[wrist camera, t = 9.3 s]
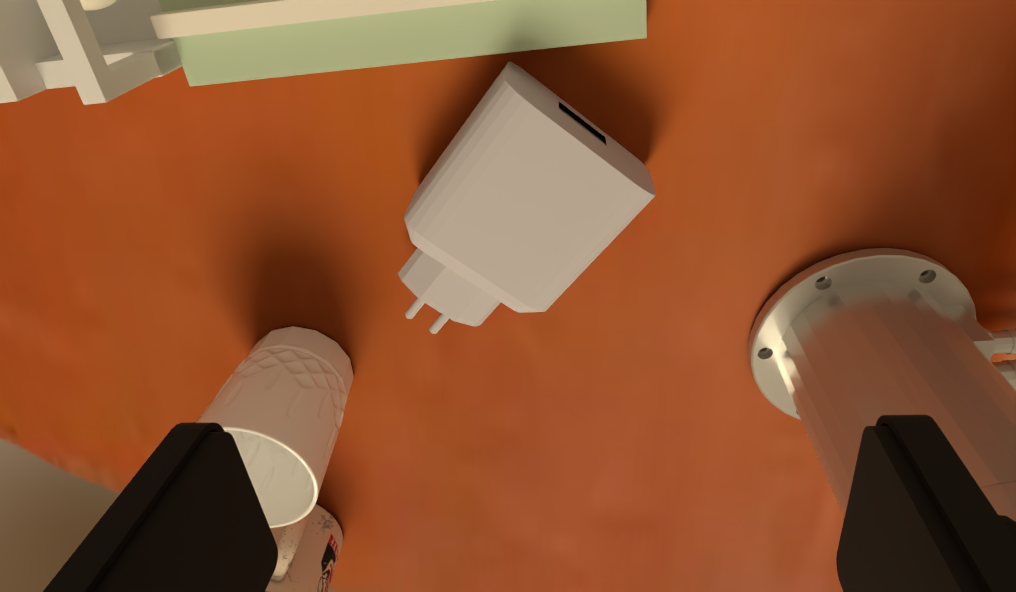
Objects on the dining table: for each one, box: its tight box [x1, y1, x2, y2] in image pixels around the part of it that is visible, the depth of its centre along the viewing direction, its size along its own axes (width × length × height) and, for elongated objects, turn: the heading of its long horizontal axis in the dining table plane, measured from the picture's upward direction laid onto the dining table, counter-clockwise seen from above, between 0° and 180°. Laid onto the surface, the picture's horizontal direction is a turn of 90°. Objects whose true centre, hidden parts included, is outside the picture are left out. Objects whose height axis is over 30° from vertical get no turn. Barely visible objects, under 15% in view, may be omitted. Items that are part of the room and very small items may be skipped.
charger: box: [398, 62, 656, 334], centre depth 36 cm, size 5×9×15 cm
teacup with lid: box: [265, 504, 343, 592], centre depth 48 cm, size 12×9×12 cm
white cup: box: [196, 326, 354, 528], centre depth 40 cm, size 8×8×10 cm
